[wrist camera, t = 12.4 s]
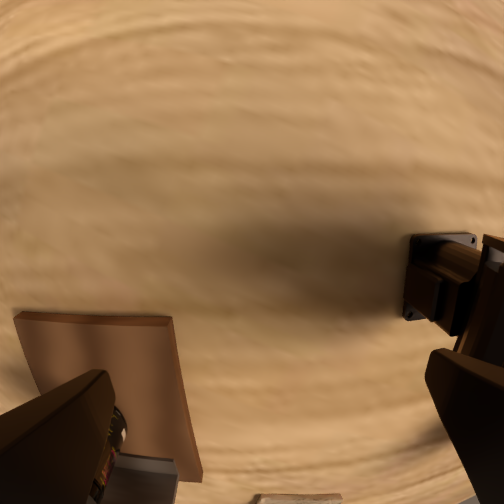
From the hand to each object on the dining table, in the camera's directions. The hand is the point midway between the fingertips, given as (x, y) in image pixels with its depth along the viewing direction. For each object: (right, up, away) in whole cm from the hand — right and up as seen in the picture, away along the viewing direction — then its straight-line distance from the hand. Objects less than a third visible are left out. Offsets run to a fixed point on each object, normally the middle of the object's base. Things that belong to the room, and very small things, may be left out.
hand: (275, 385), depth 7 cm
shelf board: (-13, -10, +15) cm, 23 cm away
